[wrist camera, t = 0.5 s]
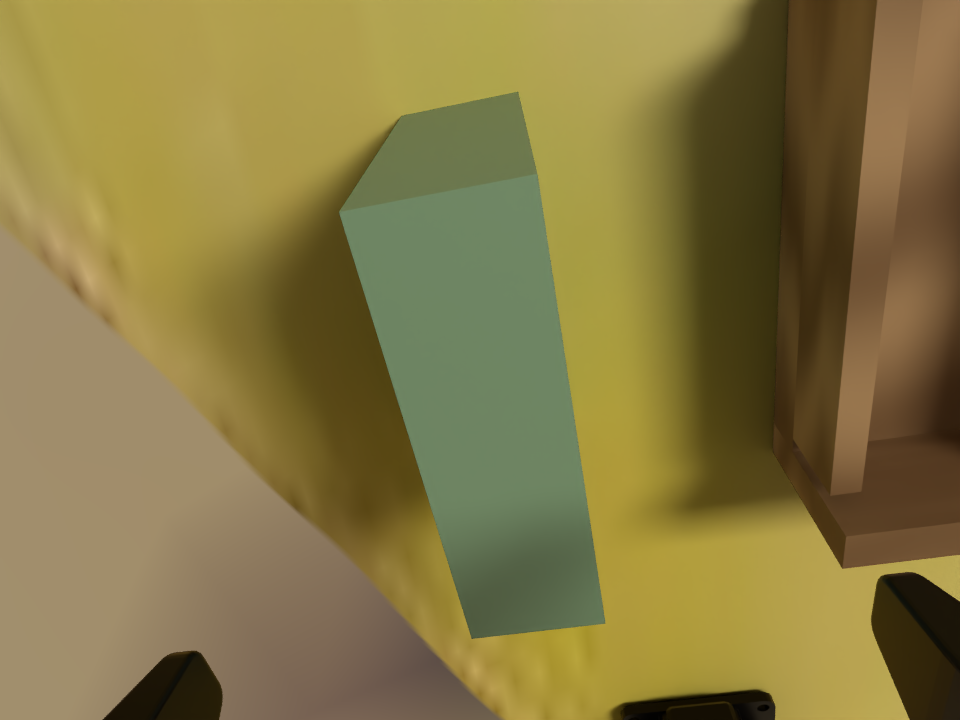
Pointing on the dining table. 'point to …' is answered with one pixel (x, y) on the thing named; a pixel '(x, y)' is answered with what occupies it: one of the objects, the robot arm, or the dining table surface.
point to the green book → (479, 360)
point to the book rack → (872, 276)
